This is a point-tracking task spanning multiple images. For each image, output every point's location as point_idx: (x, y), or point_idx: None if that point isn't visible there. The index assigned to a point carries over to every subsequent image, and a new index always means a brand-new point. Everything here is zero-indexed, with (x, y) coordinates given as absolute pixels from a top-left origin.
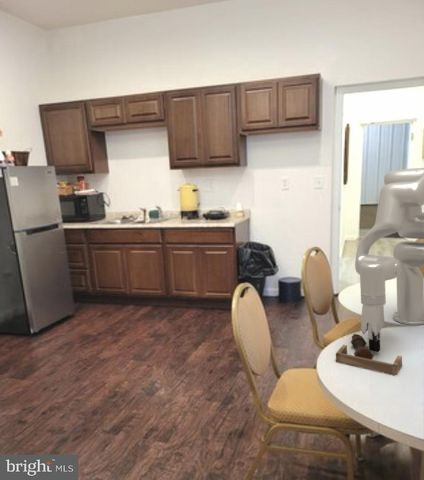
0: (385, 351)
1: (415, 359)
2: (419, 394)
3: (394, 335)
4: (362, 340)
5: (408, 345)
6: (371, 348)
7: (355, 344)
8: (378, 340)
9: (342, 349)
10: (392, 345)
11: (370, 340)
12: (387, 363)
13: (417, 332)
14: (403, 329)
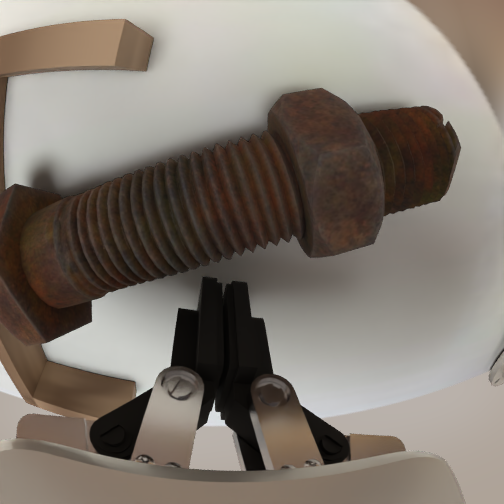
0: (273, 337)
1: (217, 419)
2: (4, 392)
3: (456, 335)
4: (305, 240)
5: (354, 393)
6: (178, 313)
7: (206, 159)
8: (216, 410)
9: (8, 64)
10: (357, 352)
11: (196, 366)
12: (20, 382)
13: (451, 382)
14: (485, 346)
